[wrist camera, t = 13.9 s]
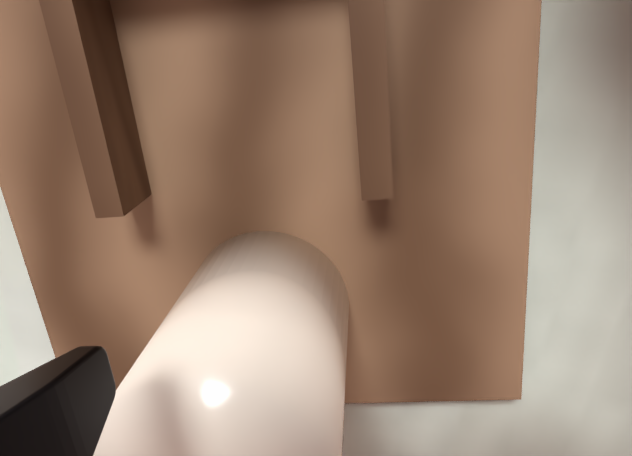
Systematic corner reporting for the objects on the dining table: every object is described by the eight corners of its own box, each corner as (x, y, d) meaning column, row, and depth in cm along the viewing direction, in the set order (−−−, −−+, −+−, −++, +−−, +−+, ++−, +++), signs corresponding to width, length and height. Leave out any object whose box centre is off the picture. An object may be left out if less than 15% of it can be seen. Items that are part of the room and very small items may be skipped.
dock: (539, -164, 16) (584, -213, 12) (514, 384, 23) (539, 443, 20) (-65, -80, 18) (-159, -103, 15) (83, 395, 25) (41, 450, 22)
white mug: (179, 236, 20) (53, 381, 12) (342, 225, 20) (327, 373, 11) (220, 434, 24) (143, 653, 16) (360, 431, 23) (358, 660, 15)
